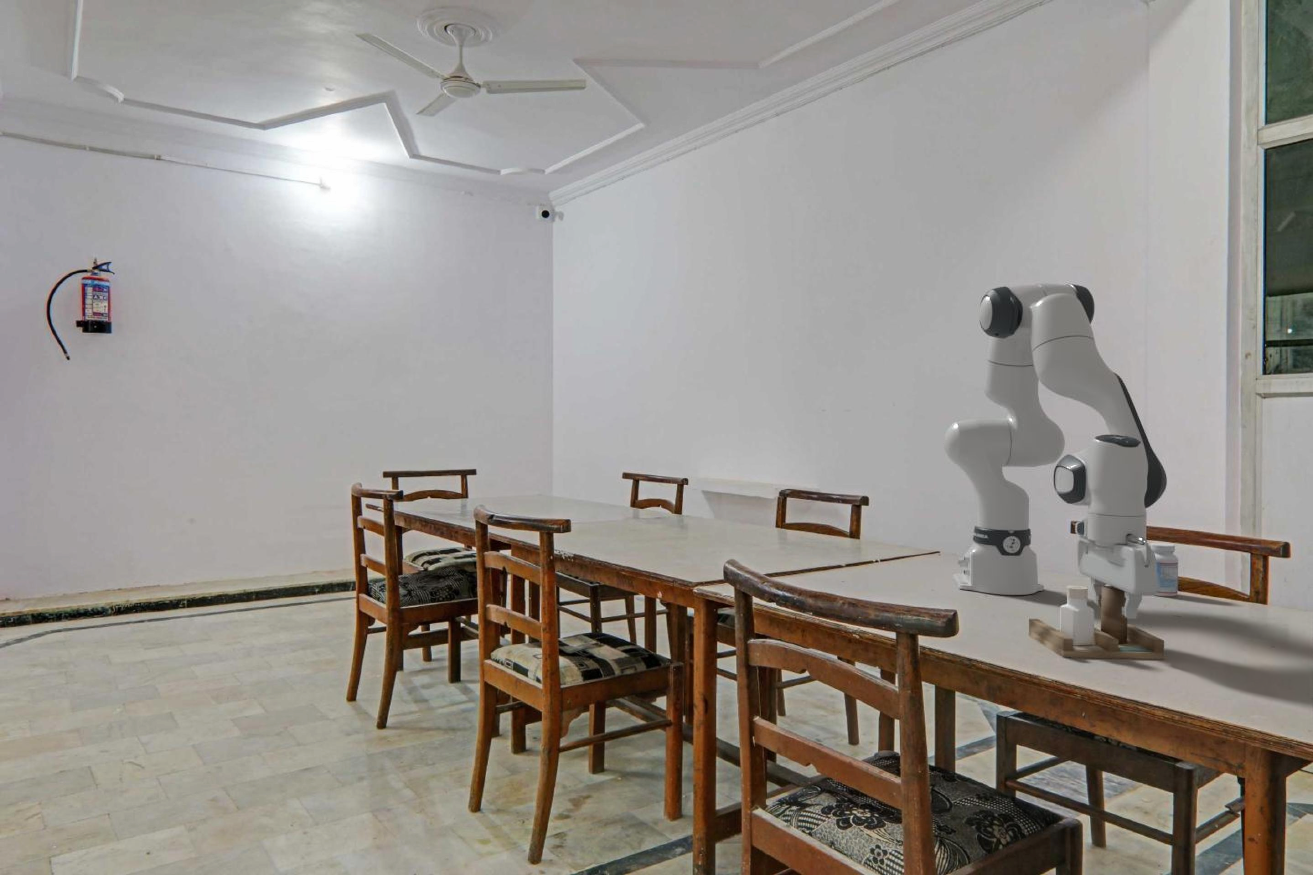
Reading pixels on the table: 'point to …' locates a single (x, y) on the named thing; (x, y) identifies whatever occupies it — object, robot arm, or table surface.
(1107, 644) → the rack
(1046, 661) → the table surface
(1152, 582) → the robot arm
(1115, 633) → the dowel
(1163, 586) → the pill bottle
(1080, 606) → the pepper shaker
